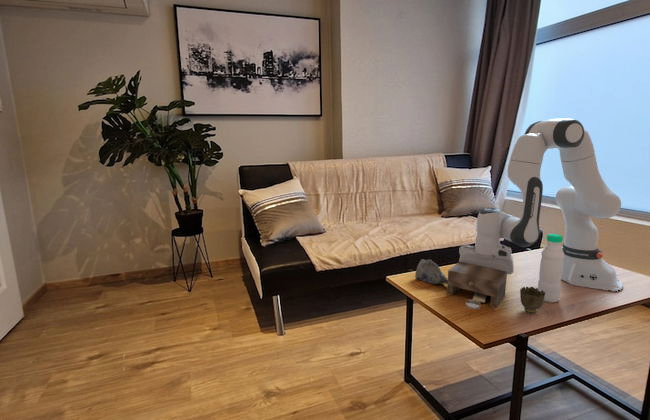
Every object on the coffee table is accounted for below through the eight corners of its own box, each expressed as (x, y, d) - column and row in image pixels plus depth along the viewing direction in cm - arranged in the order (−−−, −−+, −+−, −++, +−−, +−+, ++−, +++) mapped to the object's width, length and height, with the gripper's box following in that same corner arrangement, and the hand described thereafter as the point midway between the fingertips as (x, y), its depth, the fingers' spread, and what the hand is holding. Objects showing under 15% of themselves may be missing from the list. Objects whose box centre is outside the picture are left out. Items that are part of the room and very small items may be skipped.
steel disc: (483, 306, 125) (483, 303, 125) (475, 311, 123) (475, 307, 122) (470, 302, 129) (470, 298, 129) (462, 306, 126) (463, 302, 126)
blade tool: (480, 280, 147) (480, 269, 146) (490, 282, 145) (491, 271, 144) (472, 300, 128) (473, 287, 127) (484, 302, 126) (485, 289, 125)
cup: (513, 309, 123) (515, 288, 121) (528, 305, 125) (530, 284, 124) (531, 319, 116) (534, 297, 114) (547, 314, 118) (550, 293, 117)
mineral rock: (450, 287, 141) (451, 264, 139) (425, 290, 139) (426, 266, 137) (435, 275, 154) (436, 254, 152) (412, 277, 152) (413, 256, 150)
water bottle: (533, 298, 131) (540, 234, 125) (541, 292, 135) (548, 231, 129) (554, 305, 125) (562, 238, 120) (561, 299, 129) (570, 235, 124)
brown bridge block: (504, 295, 133) (507, 271, 131) (495, 308, 123) (497, 282, 121) (458, 284, 144) (459, 261, 142) (446, 294, 135) (447, 270, 133)
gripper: (458, 246, 141) (456, 278, 144) (515, 253, 131) (511, 287, 134) (460, 242, 146) (458, 272, 149) (515, 249, 136) (512, 281, 139)
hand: (484, 280), depth 141 cm, fingers closed on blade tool, 2 cm apart
